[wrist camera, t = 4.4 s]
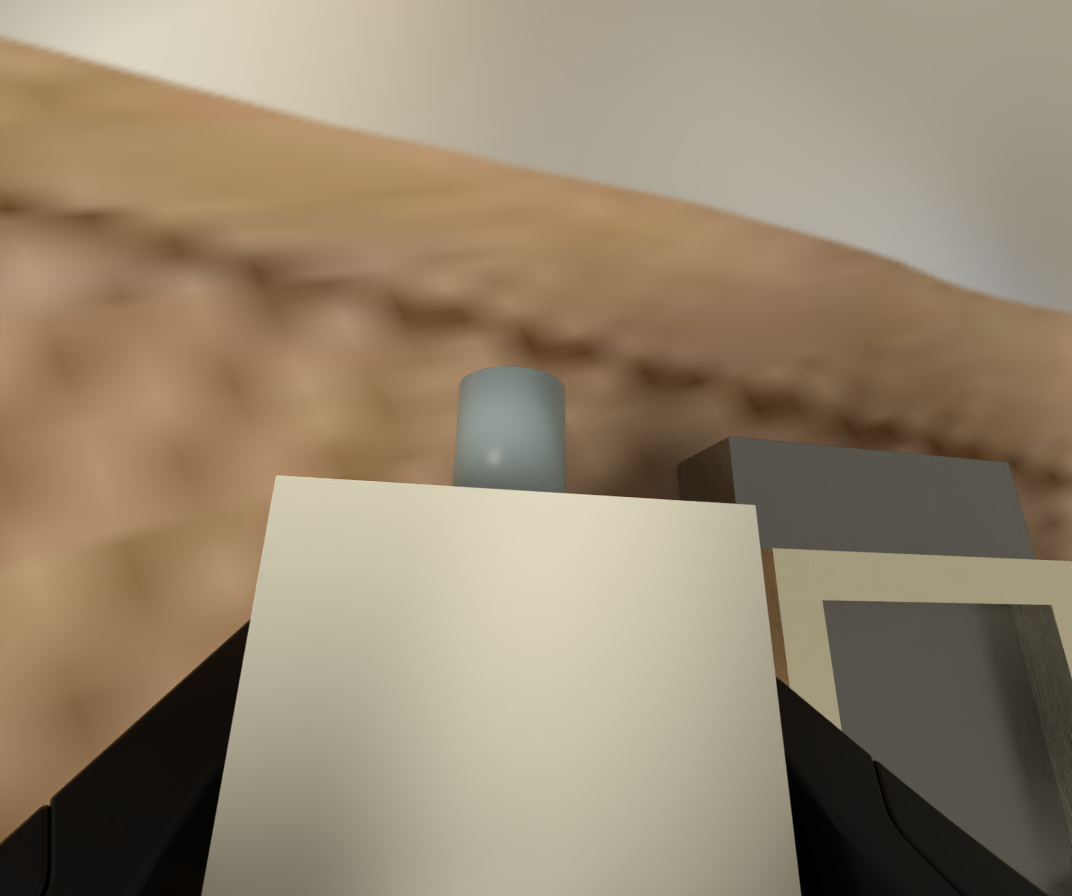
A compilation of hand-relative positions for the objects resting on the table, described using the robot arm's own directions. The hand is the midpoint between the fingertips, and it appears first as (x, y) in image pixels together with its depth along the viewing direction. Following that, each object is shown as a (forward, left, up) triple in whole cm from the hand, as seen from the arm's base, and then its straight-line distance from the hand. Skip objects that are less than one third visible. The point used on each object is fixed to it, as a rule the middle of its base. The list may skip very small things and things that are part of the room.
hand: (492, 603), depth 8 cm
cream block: (-1, 0, -7) cm, 7 cm away
